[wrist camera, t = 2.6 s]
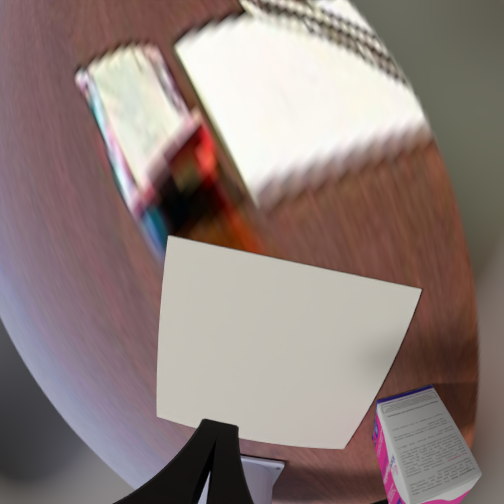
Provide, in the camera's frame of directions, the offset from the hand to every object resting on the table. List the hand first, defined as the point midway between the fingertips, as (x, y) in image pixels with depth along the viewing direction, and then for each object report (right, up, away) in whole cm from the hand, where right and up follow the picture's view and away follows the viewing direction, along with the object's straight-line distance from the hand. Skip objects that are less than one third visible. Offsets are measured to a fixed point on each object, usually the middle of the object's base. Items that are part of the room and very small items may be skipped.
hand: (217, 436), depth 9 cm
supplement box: (+15, -8, +11) cm, 20 cm away
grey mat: (+3, -2, +11) cm, 11 cm away
